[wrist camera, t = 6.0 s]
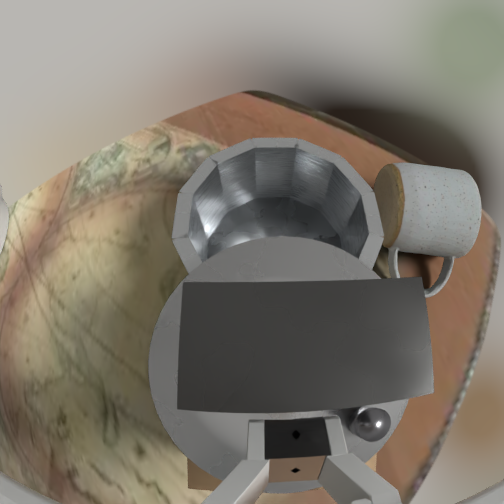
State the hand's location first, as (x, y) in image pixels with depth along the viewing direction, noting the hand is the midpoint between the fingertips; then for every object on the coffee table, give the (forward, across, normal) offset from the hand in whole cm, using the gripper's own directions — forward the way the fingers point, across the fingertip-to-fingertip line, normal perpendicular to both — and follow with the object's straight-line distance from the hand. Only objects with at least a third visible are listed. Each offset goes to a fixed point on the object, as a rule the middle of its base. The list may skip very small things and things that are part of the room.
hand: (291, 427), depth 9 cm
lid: (+5, 0, +2) cm, 6 cm away
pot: (+17, 0, 0) cm, 17 cm away
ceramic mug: (+18, -13, 0) cm, 22 cm away
